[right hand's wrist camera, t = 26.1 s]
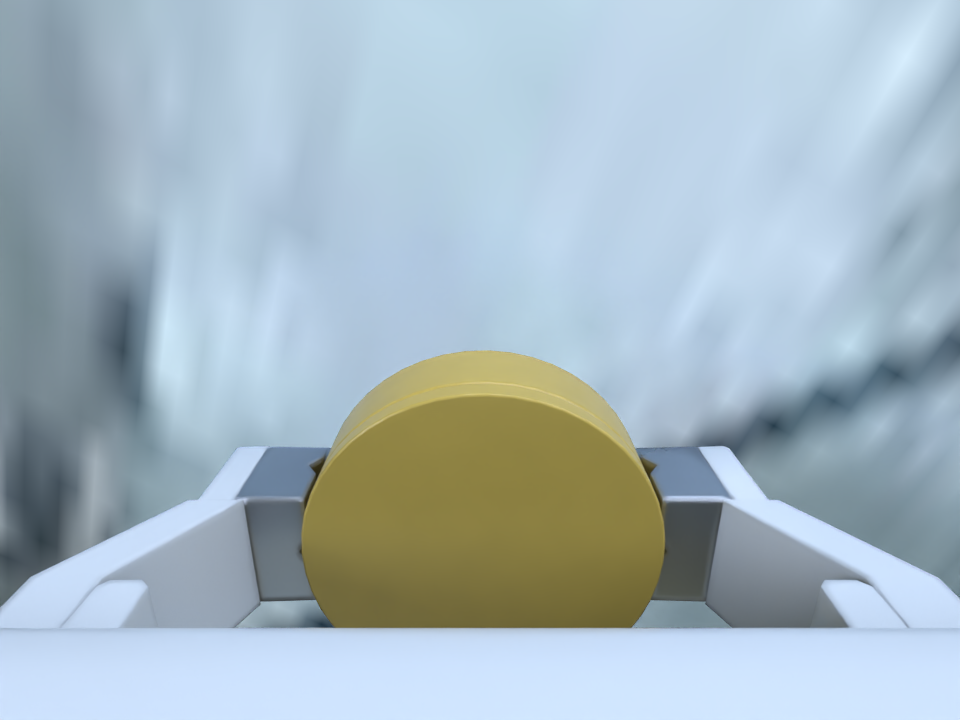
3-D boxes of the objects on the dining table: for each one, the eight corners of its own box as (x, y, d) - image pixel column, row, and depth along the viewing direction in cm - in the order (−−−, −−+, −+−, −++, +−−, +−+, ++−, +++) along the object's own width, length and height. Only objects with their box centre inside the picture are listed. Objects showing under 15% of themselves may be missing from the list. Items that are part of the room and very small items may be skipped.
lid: (477, 657, 11) (476, 739, 10) (263, 488, 10) (224, 552, 8) (701, 499, 10) (739, 565, 9) (489, 278, 9) (491, 313, 7)
